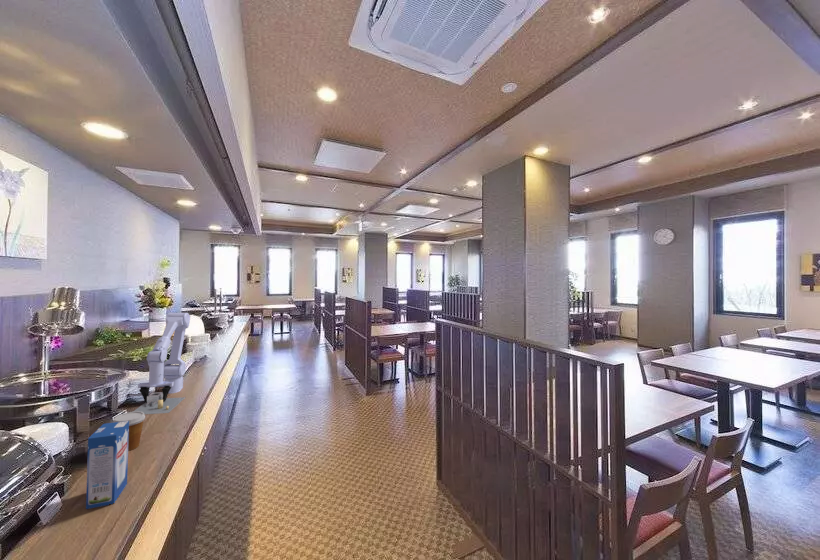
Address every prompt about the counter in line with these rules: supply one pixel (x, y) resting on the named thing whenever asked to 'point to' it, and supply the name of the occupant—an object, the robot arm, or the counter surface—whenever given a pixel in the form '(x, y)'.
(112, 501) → the milk carton
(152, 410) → the base plate
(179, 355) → the robot arm
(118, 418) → the disposable coffee cup
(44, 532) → the counter surface
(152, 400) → the metal bracket with prongs
